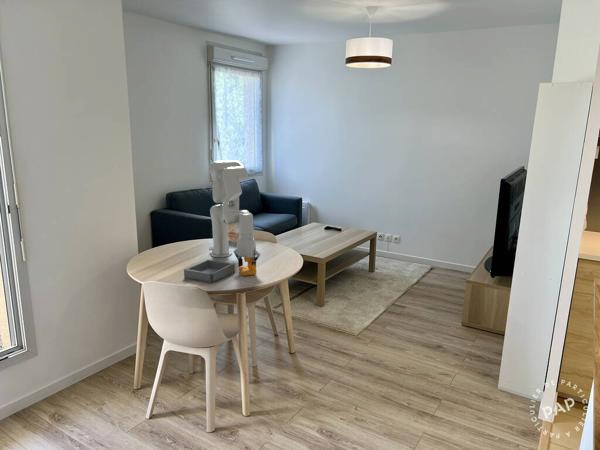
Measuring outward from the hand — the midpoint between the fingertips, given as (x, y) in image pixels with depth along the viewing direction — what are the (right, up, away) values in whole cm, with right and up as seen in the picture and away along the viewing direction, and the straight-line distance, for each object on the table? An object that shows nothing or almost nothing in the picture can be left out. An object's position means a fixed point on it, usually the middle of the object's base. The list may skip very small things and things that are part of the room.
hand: (247, 267), depth 240 cm
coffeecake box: (-15, +11, +68) cm, 71 cm away
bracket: (0, -4, +1) cm, 4 cm away
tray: (-20, -4, -3) cm, 20 cm away
